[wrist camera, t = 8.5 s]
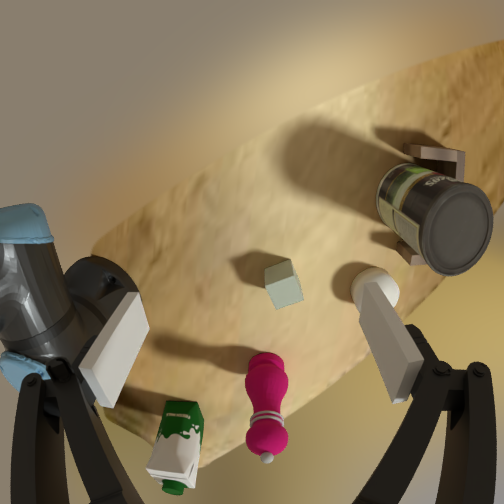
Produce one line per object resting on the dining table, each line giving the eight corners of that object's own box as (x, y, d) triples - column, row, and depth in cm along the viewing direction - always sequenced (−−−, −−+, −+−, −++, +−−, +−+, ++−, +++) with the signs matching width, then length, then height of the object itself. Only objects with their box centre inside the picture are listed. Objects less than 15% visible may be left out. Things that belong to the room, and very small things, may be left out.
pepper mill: (239, 371, 52) (231, 466, 33) (256, 345, 49) (253, 447, 30) (275, 382, 52) (278, 474, 34) (293, 357, 50) (304, 456, 31)
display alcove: (396, 250, 41) (411, 266, 36) (403, 143, 35) (422, 146, 30) (436, 248, 41) (452, 263, 36) (445, 147, 35) (466, 152, 30)
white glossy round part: (348, 307, 46) (353, 320, 42) (352, 268, 43) (358, 279, 40) (387, 303, 45) (394, 315, 42) (393, 265, 42) (402, 276, 39)
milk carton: (172, 420, 60) (155, 492, 41) (161, 397, 56) (137, 475, 38) (209, 422, 59) (197, 498, 41) (200, 399, 55) (185, 482, 37)
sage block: (274, 290, 44) (276, 309, 40) (264, 268, 43) (264, 286, 38) (299, 281, 44) (304, 299, 39) (290, 258, 42) (293, 275, 38)
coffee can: (379, 158, 36) (432, 176, 23) (439, 168, 36) (501, 191, 23) (370, 230, 40) (412, 276, 27) (428, 234, 40) (480, 276, 27)
